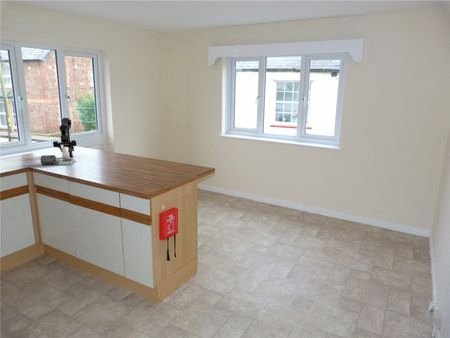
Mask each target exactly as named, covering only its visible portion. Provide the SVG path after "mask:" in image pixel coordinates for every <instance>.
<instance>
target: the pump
mask: <svg viewBox="0 0 450 338" xmlns="http://www.w3.org/2000/svg"><path fill="white" fill-rule="evenodd" d="M61 148H62V152H61V154H62V157H61V158H62V159H71V158H70V156H69V148H68V147H63V146H61ZM62 159H61V160H62Z"/></svg>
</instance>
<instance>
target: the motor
mask: <svg viewBox="0 0 450 338" xmlns="http://www.w3.org/2000/svg"><path fill="white" fill-rule="evenodd" d="M76 162H77V161H76V160H75V159H74V158H70V159H57V157H56V155H55V154H50V155H47V154H44V155H41V156H40V163H41V165H54V166H57V167H58V166H72V165H74V164H75V163H76Z"/></svg>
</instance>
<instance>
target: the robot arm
mask: <svg viewBox="0 0 450 338" xmlns="http://www.w3.org/2000/svg"><path fill="white" fill-rule="evenodd" d="M72 125H73V124H72V120H71V119H70V118H69V117H63V118H62V119H61V124H60V126H59V127H58V129H59V131H60V141H58V140H57V141H53V142H52V145H53V148H59V150H60V152H61V153H62V147H68V148H69V156H70V159H74V158H73V157H74V155H73V152H74V151H75V148H74V147H78V144H77V140H76V139H73V140H72V139H71V133H70V130H71V128H72Z"/></svg>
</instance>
